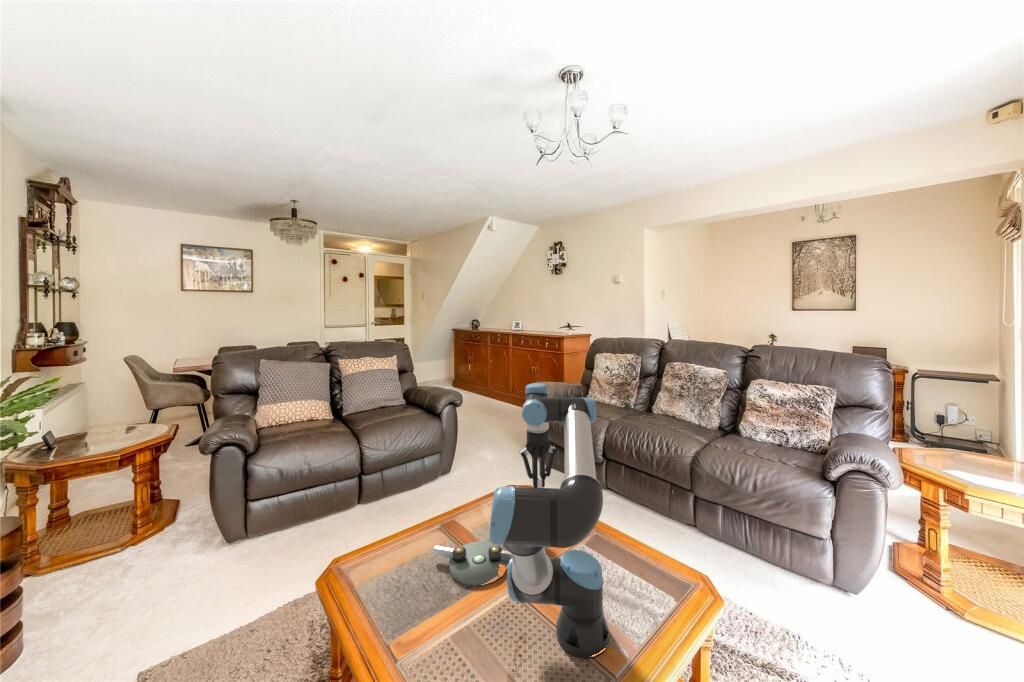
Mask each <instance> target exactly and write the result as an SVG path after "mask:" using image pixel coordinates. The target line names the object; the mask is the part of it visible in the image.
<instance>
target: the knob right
mask: <svg viewBox="0 0 1024 682" xmlns="http://www.w3.org/2000/svg"><path fill="white" fill-rule="evenodd" d="M505 550H506V549H505ZM505 550H502V548H501V547H499V546H492V547H490V548H489V550H488V553H489V560H490V561H491V562H498V561H500V560H505V561H510V559H511V557H512V554H511V553H510V552H509V551H508V550H506V551H505Z"/></svg>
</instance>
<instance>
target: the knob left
mask: <svg viewBox="0 0 1024 682" xmlns="http://www.w3.org/2000/svg"><path fill="white" fill-rule="evenodd" d="M433 550H434V551H433V553H434V554H433V555H434V556H437V557H442V558H448V559H450V558H453V561H454V562H456V563H461V562H464V561H465V560H466V549H465V548H464V547H461V546H457V547H454V548H452V547H446V546H440V545H435V546H434V548H433Z"/></svg>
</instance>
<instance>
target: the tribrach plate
mask: <svg viewBox="0 0 1024 682" xmlns="http://www.w3.org/2000/svg"><path fill="white" fill-rule="evenodd" d="M492 546H499V547H501V548H502V550H505V551H507V549H506V548H505V547H504V546H502V545H497V544H493V543H491V542H490V541H486V540H485V541H483V540H481V541H479V540H478V541H473V542H468V543H465V544H464V545H462V546H460V547H464V548H465V549H466V560H465V561H464V562H461V563H456V562H454V561H453V558H449V560H448V561H449V563H448V568H449V573H450V576H451V577H452V578H453V579H454V580H455V581H456V582H458V583H460V584H461V585H465V586H468V587H469V586H470V587H479V586H478V585H481V584H484V583H486V582H488V581H490V580H491V579H493V578H494V577H496V576H497V575H498V570H499V568H500V567H499V564H502V565H505V567H506V566H507V564H508V563H509V561H505V560H500V561H498V562H491V561H490V560H489V553H488V550H489V548H490V547H492ZM497 568H498V569H497Z"/></svg>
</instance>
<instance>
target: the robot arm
mask: <svg viewBox="0 0 1024 682" xmlns="http://www.w3.org/2000/svg"><path fill="white" fill-rule="evenodd" d="M524 394H525V400H524V404H523V405H522V411H521V415H522V420H523V421H524V422H525V423H526V445H525V446H524V448H523V449H520V450H519V451H518V452H519V454H520V455H521V457H522V460H523V464H524V468H525V471H526V475H527V477H528V478H529V479H530V480H532V486H533V487H528V486H527V487H525V486H524V487H523V486H514V485H509V486H499V487H497V488H496V489H495V490H494V492H493V498H492V505H491V513H490V522H489V523H490V524H489V542H491V543H493V544H497V545H500V546H502V545H503V548H504V549H505V550H506V551H509V552H510V553H511V554H512V557H511V559H510V561H509V564H508V569H507V571H506V573H507V575H506V577H507V578H506V582H507V583H506V584H507V592H508V596H509V598H510V600H511V601H513V602H515V603H519V604H538V605H549V606H550V605H551V606H552V605H553V606H561V609H560V612H559V614H558V618H557V620H556V625H555V626H556V627H555V630H556V632H555V634H556V639H557V641H558V644H559V645H560V647H561V648H562V649H563V650H564V651H565V652H567V653H568V654H570V655H571V656H573V657H577V658H579V659H580V658H581V659H590V658H589V657H590V656H592V655H594V654H597V653H599V652H600V651H601V650H603V649H604V648H606V646H607V645H608V646H609V644H610V630H609V625H608V623H607V620H606V617H605V613H604V611H603V609H604V603H603V602H604V601H603V599H604V597H603V595H604V594H603V592H604V591H603V590H604V589H603V585H604V578H603V568H602V565H601V563H600V562H599V560H598V558H596V557H594V556H593V555H592V554H590V553H589V552H588V551H584V550H580V549H569V550H568V551H565V552H564V553H563V554H562V555H561V557H549V555H547V553H546V548H557V549H567V548H571V547H574V546H576V545H578V544H580V543H582V542H583V541H584V540H585V539H586V538H587V537H588V536H589V535H590V534H591V532H593V530H594V528H595V527H596V526H597V524H598V521H599V520H600V518H601V514H602V511H603V506H604V494H603V487H602V484H601V482H600V481H599V480H598V478H597V471H596V462H595V455H594V454H595V453H594V446H593V445H594V444H593V436H592V435H593V434H592V427H591V424H593V423H595V422H596V421H597V407H596V401H595V399H594V398H593V397H591V398H589V397H582V396H579V397H549V389H548V385H546V384H545V383H540V382H534V383H529V384H527V385H526V386H525V393H524ZM550 423H563V428H564V429H563V434H564V435H563V437H564V438H563V439H564V440H563V443H564V444H563V446H564V447H563V448H564V453H563V455H564V461H563V462H564V466H563V467H564V479H563V481H562V482H561V484H560V488H557V487H556V488H553V487H545V486H546V484H545V483H546V482H545V481H546V477H550V476H551V471H552V468H553V467H552V466H553V464H554V463H553V462H554V458H555V455H556V453H557V451H558V449H557V448H556V447H555V446H552V445H551V443H550V431H549V429H550ZM528 453H529V454H530V455H531V465H530V463H529V459H528ZM547 453H548V454H547ZM546 454H547V458H546ZM538 461H539V462H538ZM538 466H539V470H538ZM531 468H532V469H531ZM538 471H539V473H538ZM538 474H539V475H538Z"/></svg>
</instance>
